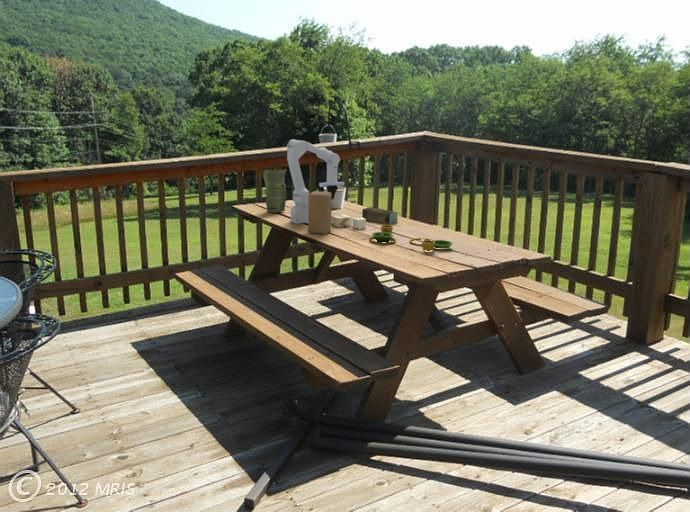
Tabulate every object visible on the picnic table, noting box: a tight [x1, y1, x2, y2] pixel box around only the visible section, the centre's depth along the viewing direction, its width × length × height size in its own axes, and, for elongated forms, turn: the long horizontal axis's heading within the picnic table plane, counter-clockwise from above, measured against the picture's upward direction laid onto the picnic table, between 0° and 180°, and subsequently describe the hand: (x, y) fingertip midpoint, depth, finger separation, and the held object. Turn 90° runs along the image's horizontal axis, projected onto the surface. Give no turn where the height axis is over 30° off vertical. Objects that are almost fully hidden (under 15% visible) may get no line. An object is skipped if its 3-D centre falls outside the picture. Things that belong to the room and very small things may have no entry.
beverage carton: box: [361, 206, 399, 225], centre depth 367 cm, size 8×19×7 cm, turn 51°
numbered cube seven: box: [352, 216, 367, 229], centre depth 349 cm, size 5×5×5 cm
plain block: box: [331, 214, 353, 228], centre depth 354 cm, size 8×8×5 cm
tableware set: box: [364, 224, 453, 251], centre depth 317 cm, size 41×28×6 cm
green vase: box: [262, 168, 288, 214], centre depth 383 cm, size 11×12×25 cm
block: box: [307, 190, 333, 235], centre depth 335 cm, size 10×10×20 cm
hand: (331, 199), depth 371 cm, fingers closed
